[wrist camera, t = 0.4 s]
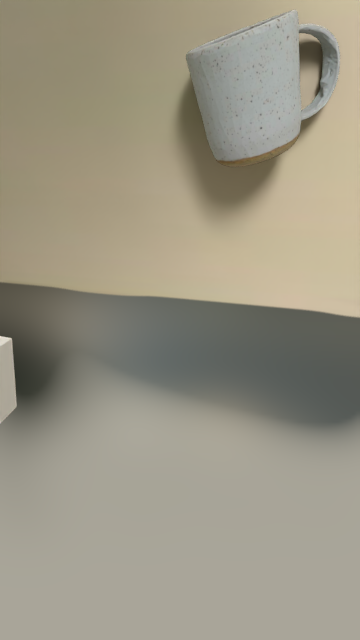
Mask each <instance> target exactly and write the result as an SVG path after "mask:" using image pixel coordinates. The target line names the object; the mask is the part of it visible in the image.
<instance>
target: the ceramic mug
mask: <svg viewBox="0 0 360 640" xmlns="http://www.w3.org/2000/svg"><path fill="white" fill-rule="evenodd" d="M299 33H306V34H311V35H313V36H314V37H316V38H317V39H318V40H319V41H320V43H321V48H322V50H323V65H322V78H321V80H320V86H321V88H320V91H319V93H318V95H317V96H316V97H315V99H314V100H313V102H312V103H311V104H310V105H308V106H307V107H306V108H305V109H303V110H301V96H300V63H299ZM186 60H187V64H188V68H189V71H190V75H191V78H192V82H193V86H194V90H195V94H196V98H197V102H198V105H199V109H200V113H201V116H202V119H203V123H204V128H205V132H206V136H207V140H208V143H209V146H210V148H211V150H212V153H213V155H214V157H215V159H216V160H217V161H218V162H219V163H221V164H222V165H225V166H229V167H239V166H246V165H251V164H256V163H259V162H262V161H265V160H268V159H270V158H273V157H275V156H278V155H280V154H281V153H283V152H285V151H286V150H288V149H289V148H290V147H291V146H292V145H293V144H294V143H295V142H296V140H297V138H298V136H299V132H300V126H301V121H302V120H305V119H307V118H310V117H311V116H312V115H314V114H316V113H317V112H318V111H319V110H320V109H321V108H323V107H324V105H325V104H326V103H327V102H328V100H329V98H330V97H331V95H332V93H333V91H334V89H335V86H336V83H337V79H338V75H339V69H340V51H339V46H338V42H337V40H336V38H335V37H334V35H333V34H332V33H331V32H330V31H329V30H328V29H326V28H324V27H323V26H320V25H316V24H301V25H299V22H298V14H297V11H296V10H292V11H289V12H286V13H283V14H280V15H278V16H274V17H272V18H269V19H266V20H263V21H261V22H258V23H256V24H254V25H251V26H248V27H245V28H242V29H240V30H237V31H235V32H232V33H230V34H227V35H224V36H223V37H220V38H217V39H215V40H213V41H210V42H208V43H205V44H203V45H200V46H198V47H197V48H194V49H192V50H190V51H189V52H188V53H187V54H186Z"/></svg>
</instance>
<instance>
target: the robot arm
mask: <svg viewBox="0 0 360 640" xmlns="http://www.w3.org/2000/svg"><path fill="white" fill-rule="evenodd" d="M16 407H17V404H16V389H15V376H14V362H13V348H12V338H7V337H1V336H0V424H1V422H2V421H3V420H4V419H5V418H6V417H7V416H8V415H9V414H10V413H11V412H12V411H13V410H14V408H16Z"/></svg>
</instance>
